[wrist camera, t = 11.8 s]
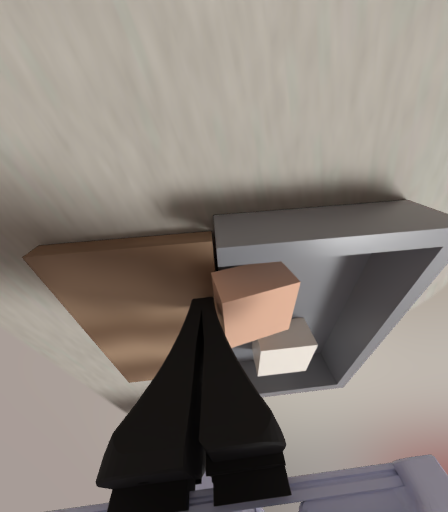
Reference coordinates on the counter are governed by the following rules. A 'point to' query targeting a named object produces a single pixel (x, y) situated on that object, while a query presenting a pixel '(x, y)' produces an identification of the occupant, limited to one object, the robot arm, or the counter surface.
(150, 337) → the walnut plate
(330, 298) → the tray
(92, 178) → the counter surface
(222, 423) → the robot arm
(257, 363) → the cream tile
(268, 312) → the terracotta tile
